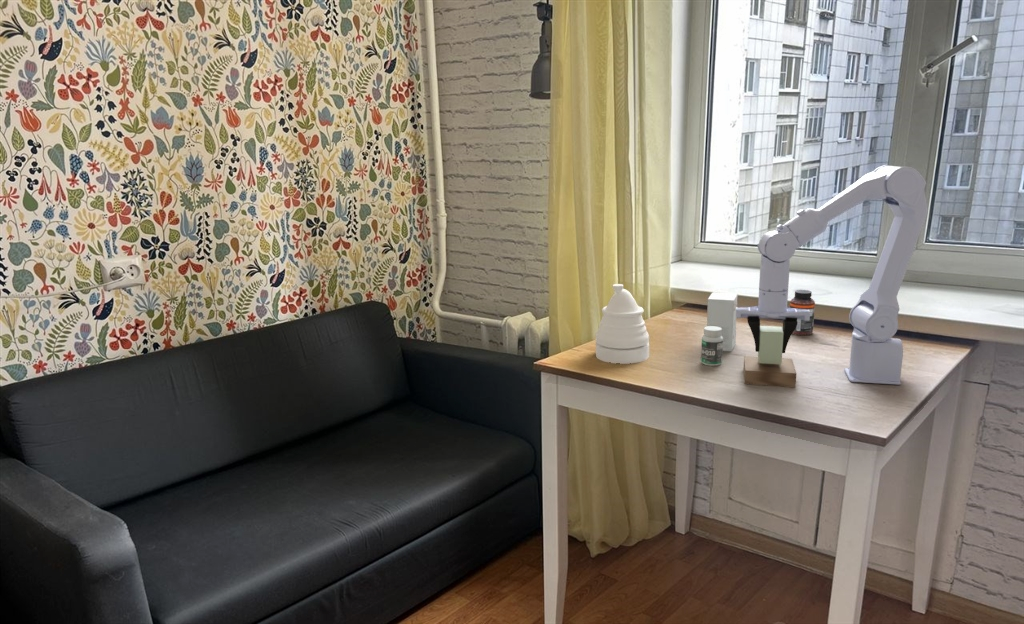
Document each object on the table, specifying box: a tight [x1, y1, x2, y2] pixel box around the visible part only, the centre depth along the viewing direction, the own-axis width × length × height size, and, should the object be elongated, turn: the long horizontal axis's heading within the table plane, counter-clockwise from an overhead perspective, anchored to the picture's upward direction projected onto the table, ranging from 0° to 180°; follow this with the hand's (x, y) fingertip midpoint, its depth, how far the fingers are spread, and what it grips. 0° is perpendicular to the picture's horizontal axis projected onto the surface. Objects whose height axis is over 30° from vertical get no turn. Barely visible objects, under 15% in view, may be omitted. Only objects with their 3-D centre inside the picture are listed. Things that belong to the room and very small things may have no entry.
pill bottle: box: [700, 325, 724, 367], centre depth 155 cm, size 5×5×8 cm
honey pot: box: [595, 283, 650, 365], centre depth 162 cm, size 13×13×18 cm
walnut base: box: [743, 355, 797, 388], centre depth 145 cm, size 10×10×3 cm
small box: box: [706, 291, 739, 352], centre depth 167 cm, size 8×6×13 cm
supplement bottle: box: [789, 289, 816, 336], centre depth 176 cm, size 6×6×11 cm
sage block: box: [757, 325, 784, 364], centre depth 143 cm, size 4×4×7 cm
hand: (770, 351), depth 144 cm, fingers closed on sage block, 4 cm apart
